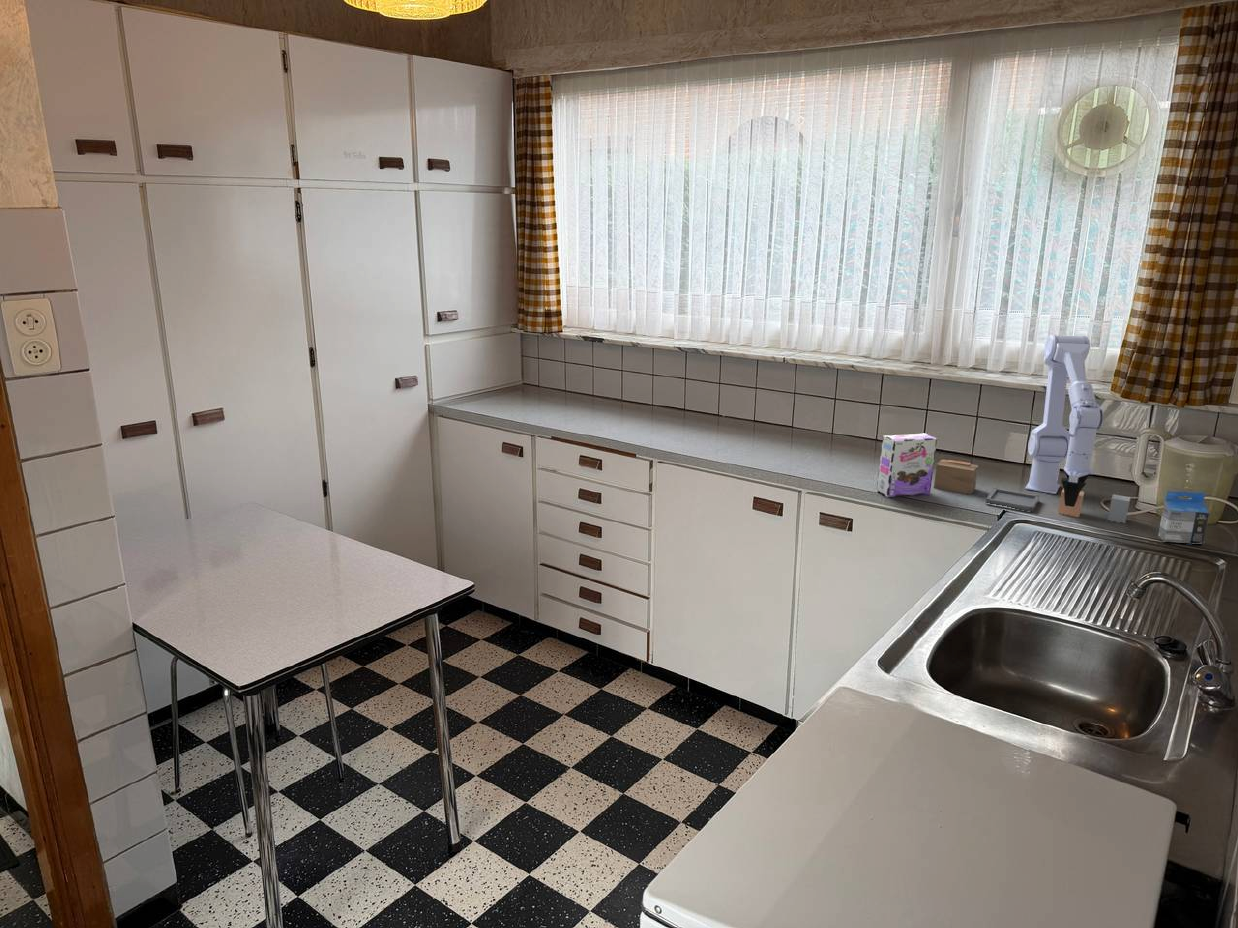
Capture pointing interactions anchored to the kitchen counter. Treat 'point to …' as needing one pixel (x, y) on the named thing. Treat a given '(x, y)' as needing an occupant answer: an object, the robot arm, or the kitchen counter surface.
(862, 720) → the kitchen counter surface
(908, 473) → the candy box
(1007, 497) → the charcoal tray
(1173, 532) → the label tape box
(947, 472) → the box
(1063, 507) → the terracotta block
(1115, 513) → the slate grey block
